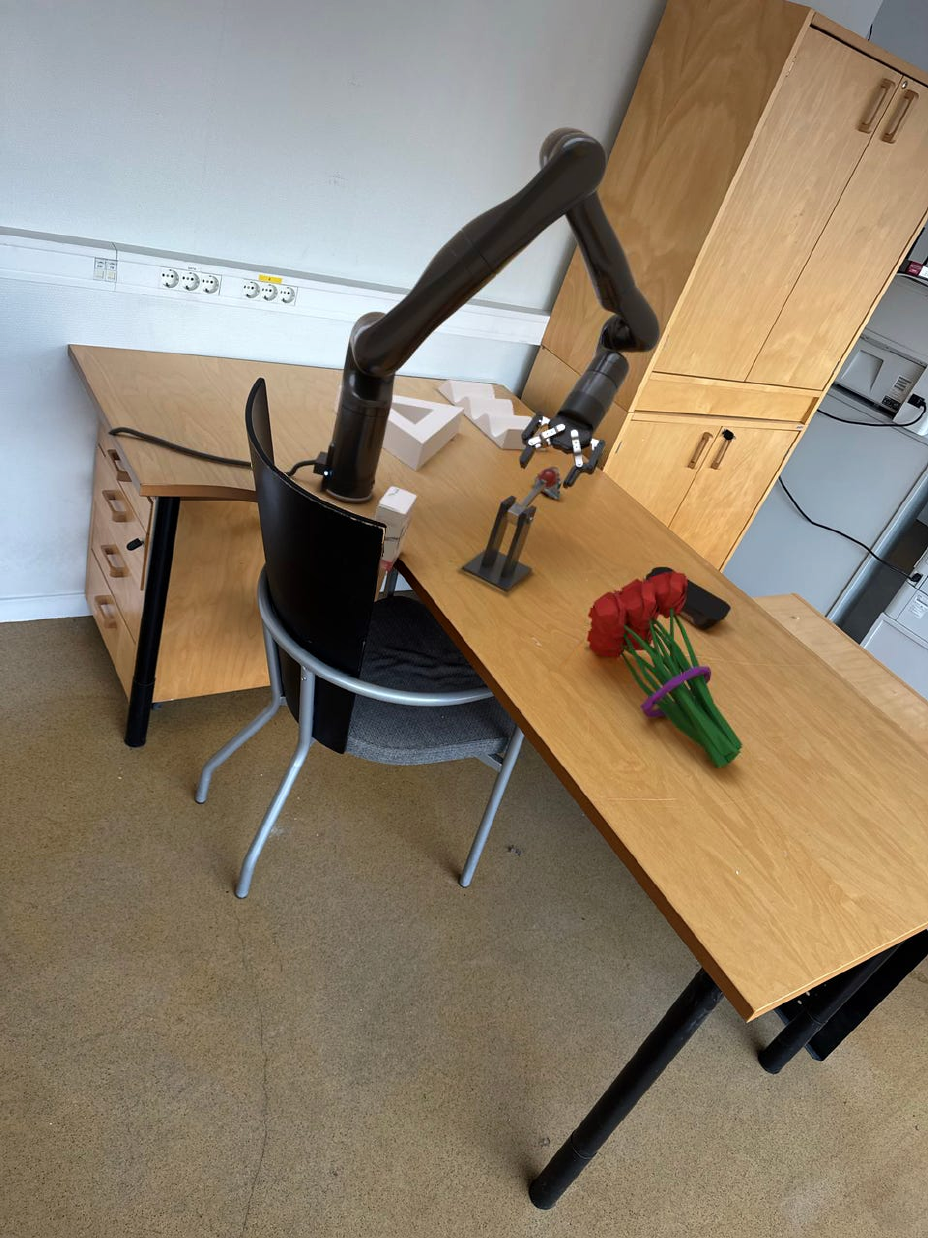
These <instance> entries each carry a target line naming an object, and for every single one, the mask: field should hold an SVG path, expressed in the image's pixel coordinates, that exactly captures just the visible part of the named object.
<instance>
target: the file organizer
mask: <svg viewBox="0 0 928 1238" xmlns="http://www.w3.org/2000/svg"><path fill="white" fill-rule="evenodd" d="M437 391H438V392H439V393H440V394H442V395H443V397H445V398H446V399H447V400H448V401H449V402H450V403H451V404H452V405H453V406H456V407H462V408H465V409H464V413H463V415H464V416H466V418H467V419H469V420H470V421H471V422H472V423H473V424H474V425H475V426H477V428H479V430H480V431H482V432H483V433H484V434H485V435H486V436H487V437H489V438H490V440H492V442H494V443H495V444H496V445H497V446H498V447H499V448H500V449H501V450H502V449H504V450H522V451H524V449H525V448H526V445H524V444H523V443H522V437H521V434H522V433H523V431H524V430H525V429H526V427H527V426H528V424H529V423H530V422H531V420H532V419H533V417H532V416H530V415H518V414H517V415H515V413H514V412H515V411H514V406H513V401H512V400H511V399H507V398H496V397H495V391H494V386H493V384H492V383H485V382H475V381H463V380H454V379H447V380H445V381H444V382H442V384H441V385H440V386H439V387H438V388H437ZM545 431H546V430H538V431H537V432H536V434H535V435H534V436H533V438H535V437H537V436H539V435H540V434H541V433H543V432H545ZM533 438H532V439H533ZM548 439H549V438H548ZM546 450H547V448H541V449H539V450H538V451H542V452H543V451H545V452H546Z"/></svg>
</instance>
